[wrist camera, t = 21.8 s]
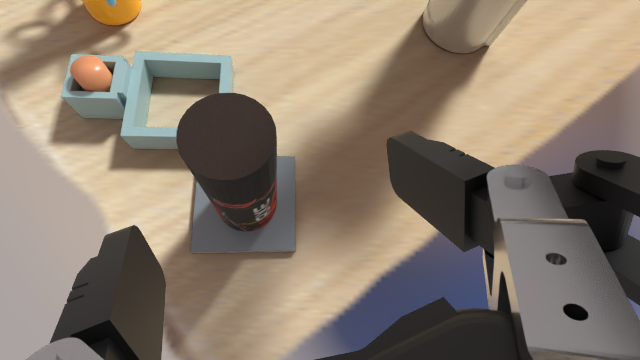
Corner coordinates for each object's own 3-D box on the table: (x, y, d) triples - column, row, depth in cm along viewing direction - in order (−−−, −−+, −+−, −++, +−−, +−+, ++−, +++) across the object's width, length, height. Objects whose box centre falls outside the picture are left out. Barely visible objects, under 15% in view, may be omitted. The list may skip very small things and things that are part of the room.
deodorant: (240, 164, 36) (216, 76, 22) (288, 194, 36) (294, 123, 22) (204, 211, 34) (154, 146, 20) (255, 243, 34) (239, 199, 20)
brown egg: (125, 83, 38) (106, 55, 34) (121, 107, 37) (101, 81, 33) (96, 82, 38) (73, 54, 33) (91, 106, 37) (66, 80, 32)
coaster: (294, 159, 38) (294, 156, 37) (295, 251, 35) (295, 250, 34) (200, 158, 37) (198, 155, 36) (192, 253, 34) (190, 252, 33)
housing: (234, 72, 41) (229, 49, 37) (229, 150, 38) (224, 133, 34) (94, 67, 39) (74, 41, 35) (76, 147, 36) (52, 129, 32)
